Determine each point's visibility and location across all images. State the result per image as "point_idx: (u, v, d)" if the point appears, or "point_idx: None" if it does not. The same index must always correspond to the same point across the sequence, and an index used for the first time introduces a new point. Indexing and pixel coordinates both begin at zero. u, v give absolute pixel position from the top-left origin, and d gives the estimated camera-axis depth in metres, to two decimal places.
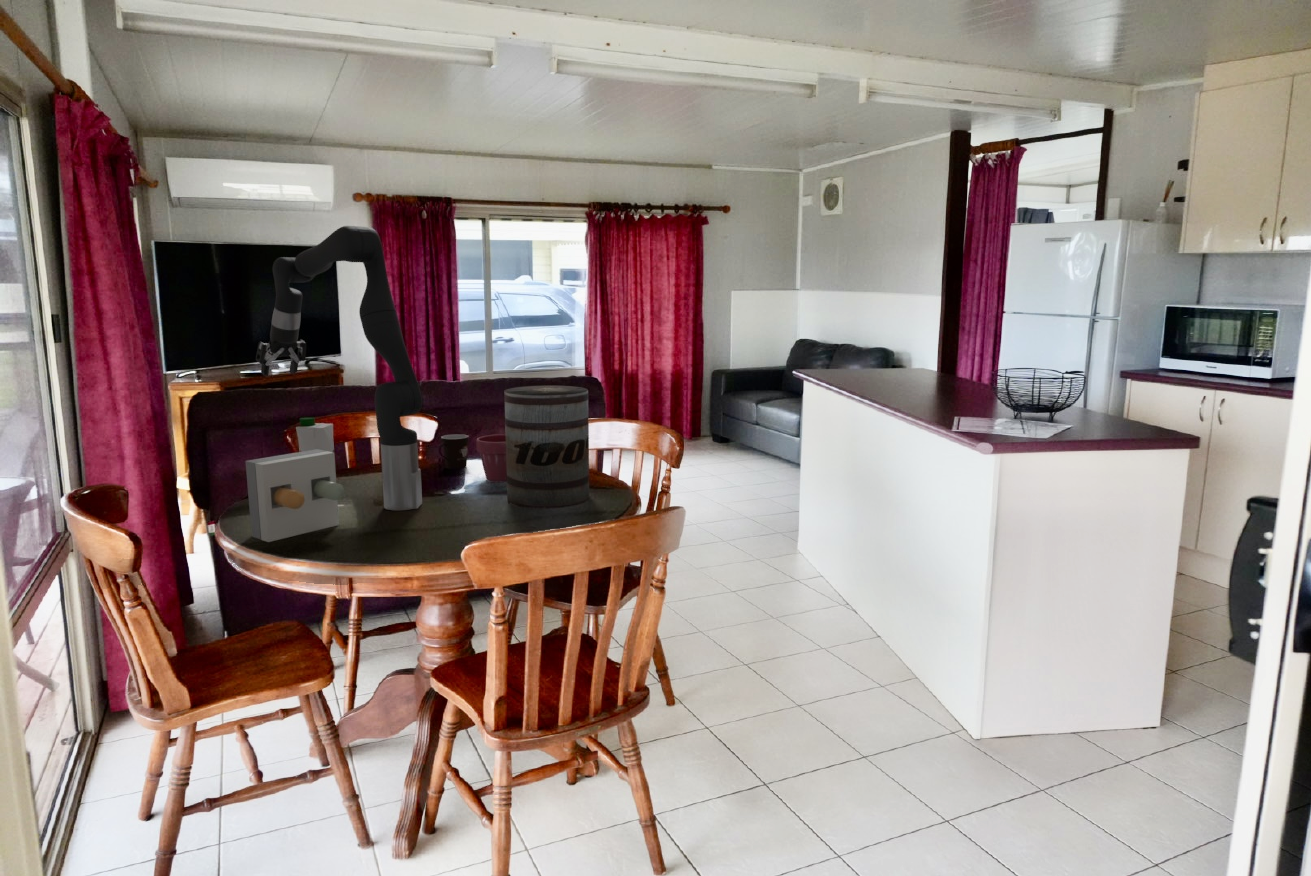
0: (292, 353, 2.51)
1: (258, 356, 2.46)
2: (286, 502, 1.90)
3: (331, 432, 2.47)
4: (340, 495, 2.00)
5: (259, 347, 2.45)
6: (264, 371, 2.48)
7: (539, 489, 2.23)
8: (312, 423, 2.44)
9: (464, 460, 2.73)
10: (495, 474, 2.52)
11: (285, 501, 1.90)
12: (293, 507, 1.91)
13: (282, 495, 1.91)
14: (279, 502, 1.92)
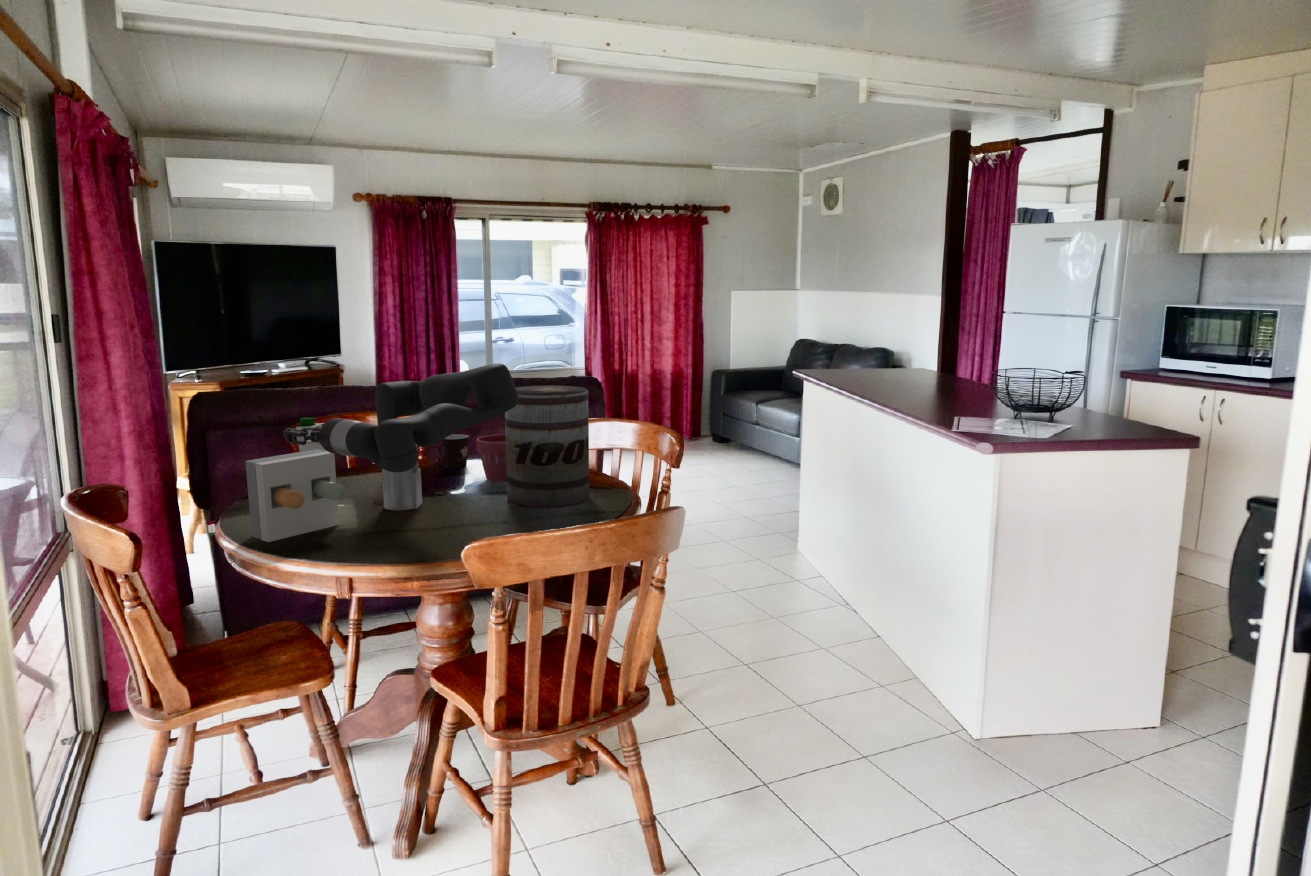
0: (313, 427, 1.79)
1: None
2: (286, 502, 1.90)
3: None
4: (340, 495, 2.00)
5: None
6: None
7: (539, 489, 2.23)
8: (312, 423, 2.44)
9: (464, 460, 2.73)
10: (495, 474, 2.52)
11: (285, 501, 1.90)
12: (293, 507, 1.91)
13: (282, 495, 1.91)
14: (279, 502, 1.92)
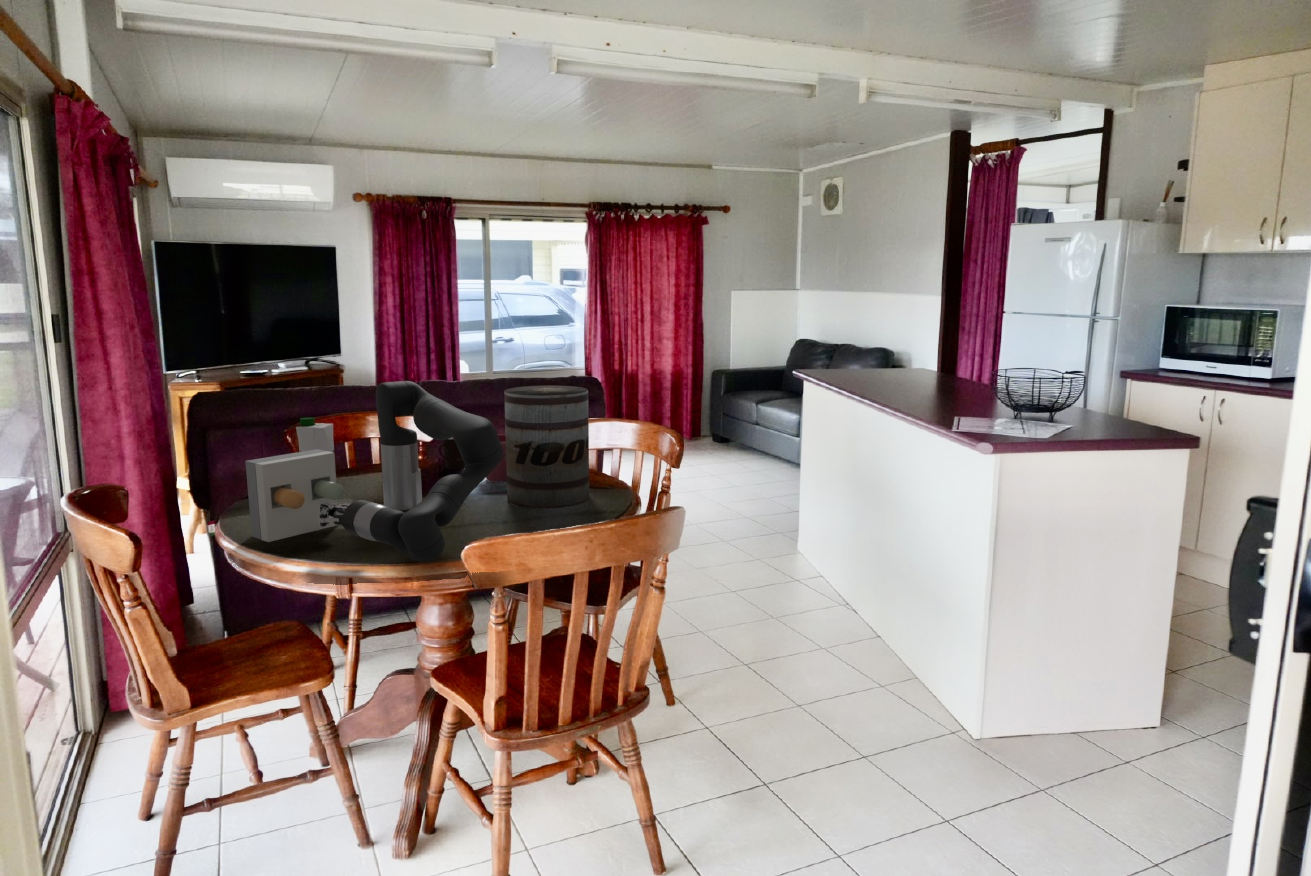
0: (340, 507, 1.79)
1: None
2: (286, 502, 1.90)
3: (331, 432, 2.47)
4: (340, 495, 2.00)
5: None
6: None
7: (539, 489, 2.23)
8: (312, 423, 2.44)
9: None
10: (495, 474, 2.52)
11: (285, 501, 1.90)
12: (293, 507, 1.91)
13: (282, 495, 1.91)
14: (279, 502, 1.92)
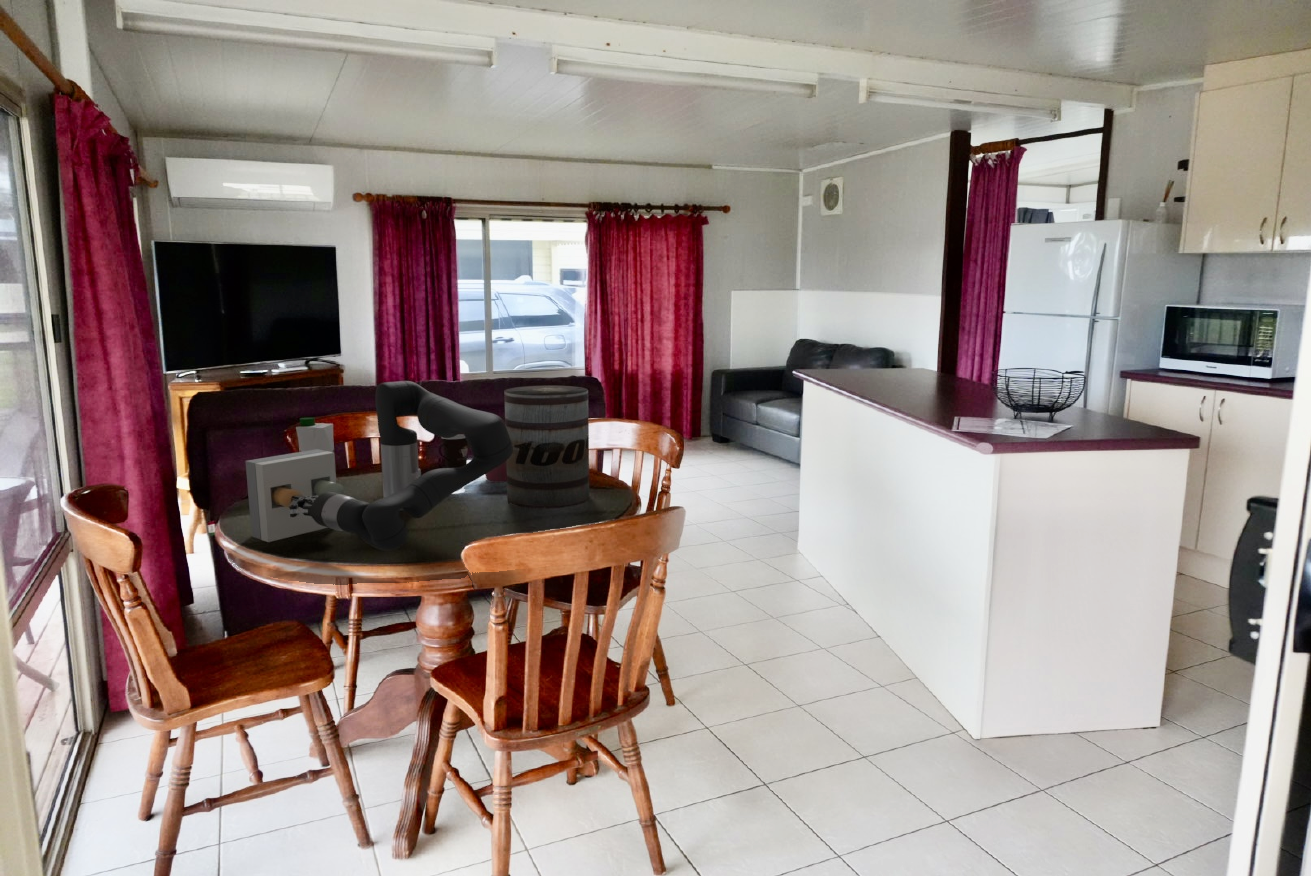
0: (310, 498, 1.86)
1: None
2: (284, 502, 1.91)
3: (331, 432, 2.47)
4: None
5: None
6: None
7: (539, 489, 2.23)
8: (312, 423, 2.44)
9: (464, 460, 2.73)
10: (495, 474, 2.52)
11: (283, 501, 1.91)
12: None
13: (280, 495, 1.92)
14: (277, 502, 1.93)
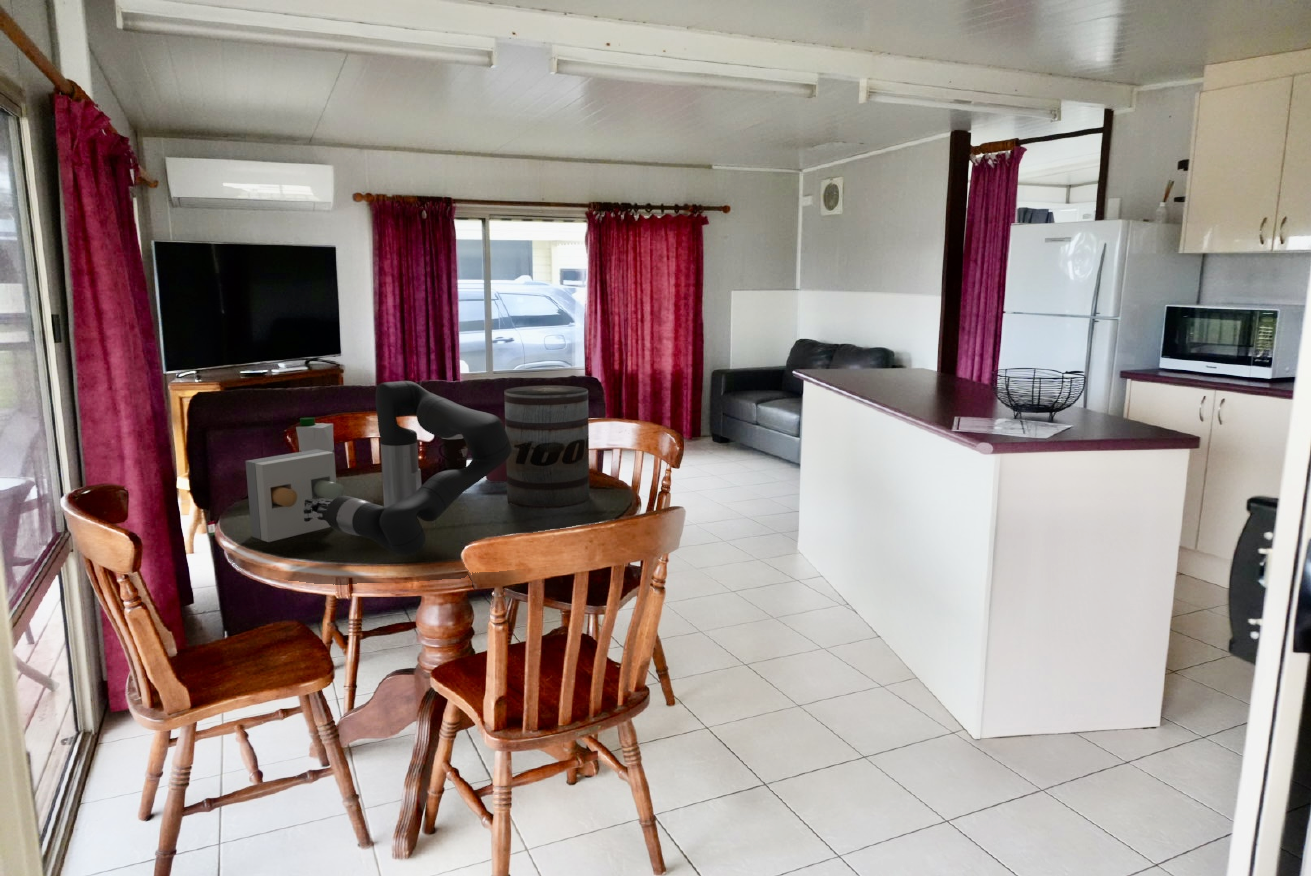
0: (324, 502, 1.83)
1: None
2: (278, 500, 1.92)
3: (331, 432, 2.47)
4: (340, 495, 2.00)
5: None
6: None
7: (539, 489, 2.23)
8: (312, 423, 2.44)
9: (464, 460, 2.73)
10: (495, 474, 2.52)
11: (278, 499, 1.92)
12: (286, 505, 1.93)
13: (275, 493, 1.93)
14: (272, 500, 1.94)
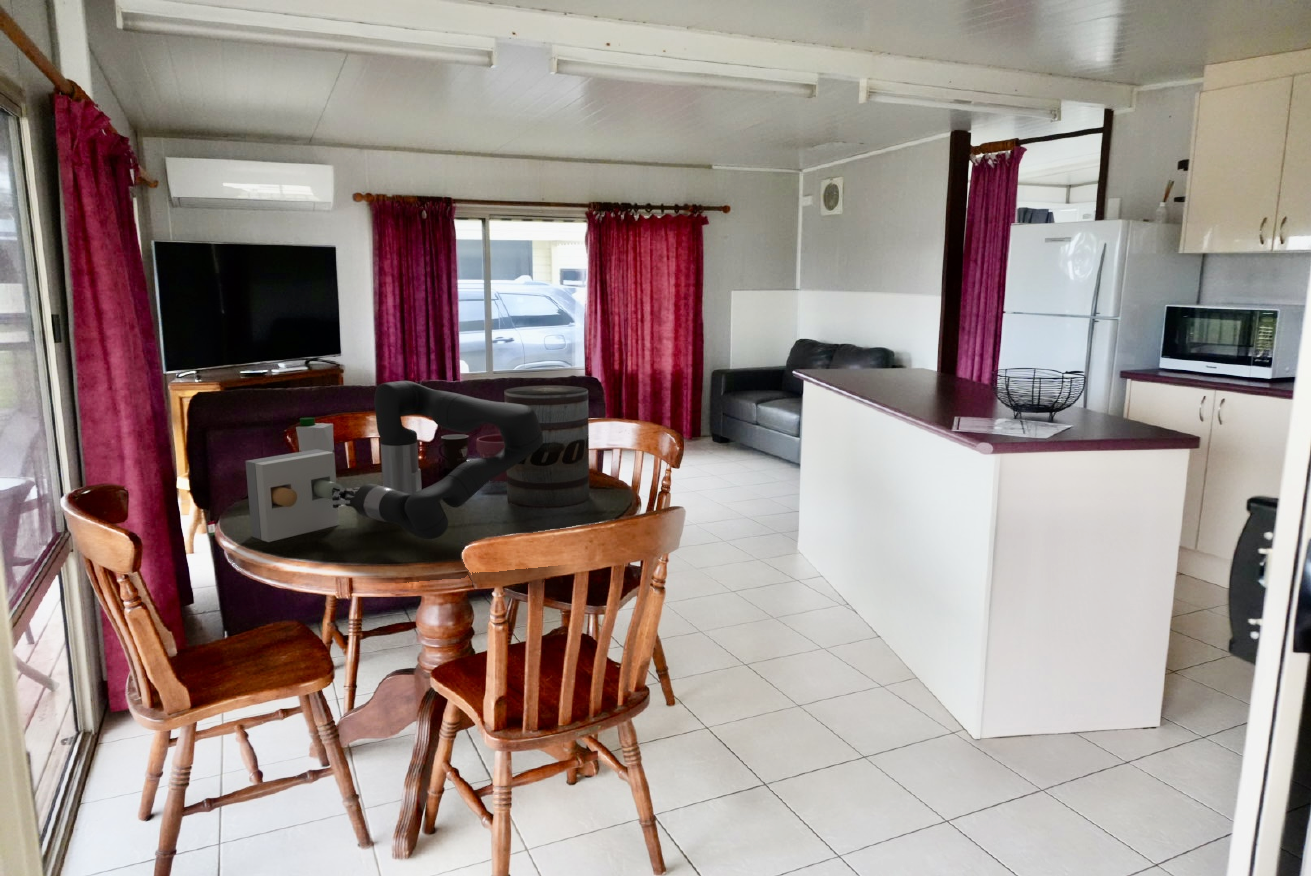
0: (351, 490, 1.93)
1: None
2: (278, 500, 1.92)
3: (331, 432, 2.47)
4: None
5: None
6: None
7: (539, 489, 2.23)
8: (312, 423, 2.44)
9: (464, 460, 2.73)
10: None
11: (278, 499, 1.92)
12: (286, 505, 1.93)
13: (275, 493, 1.93)
14: (272, 500, 1.94)
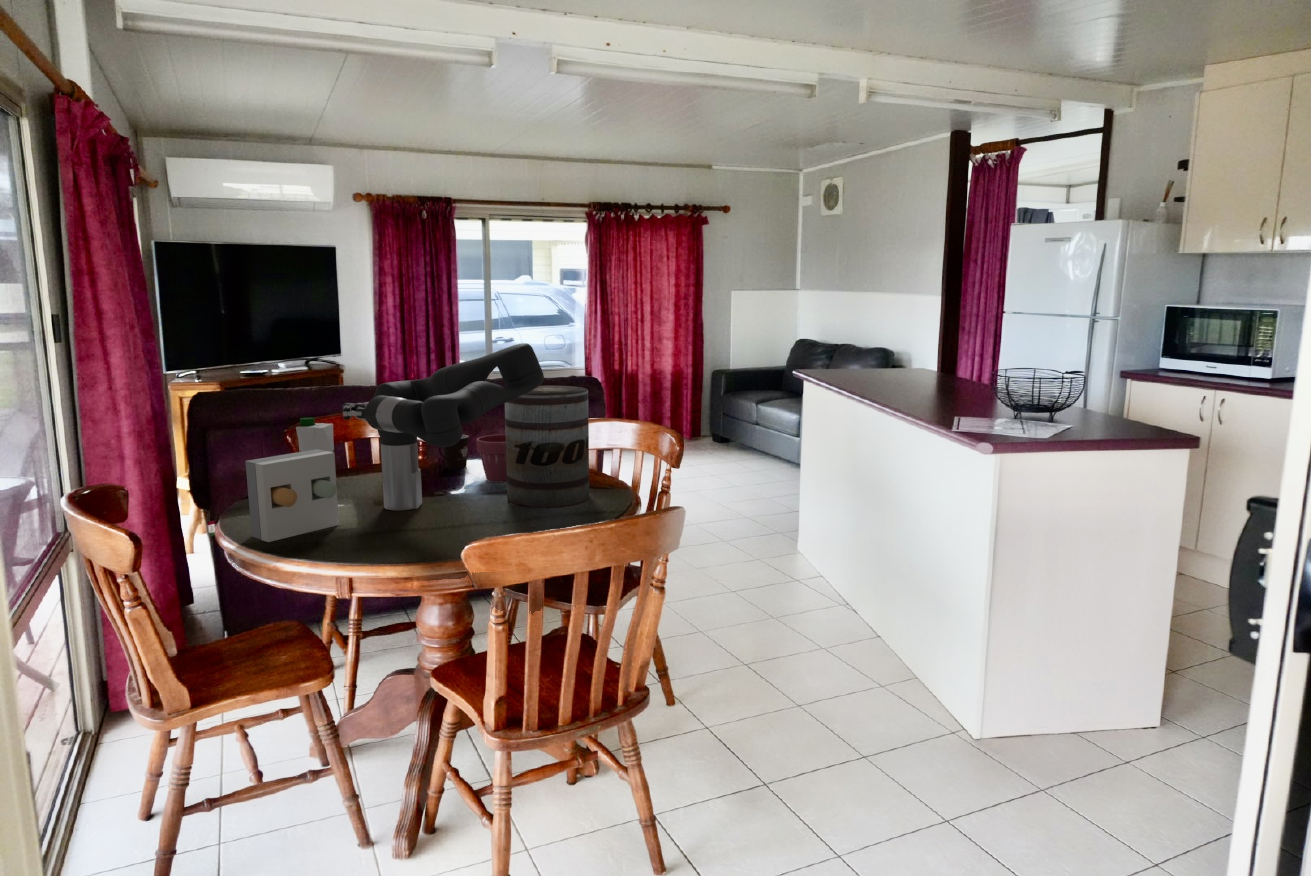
0: None
1: None
2: (278, 500, 1.92)
3: (331, 432, 2.47)
4: (333, 493, 2.02)
5: None
6: (354, 404, 1.92)
7: (539, 489, 2.23)
8: (312, 423, 2.44)
9: (464, 460, 2.73)
10: (495, 474, 2.52)
11: (278, 499, 1.92)
12: (286, 505, 1.93)
13: (275, 493, 1.93)
14: (272, 500, 1.94)
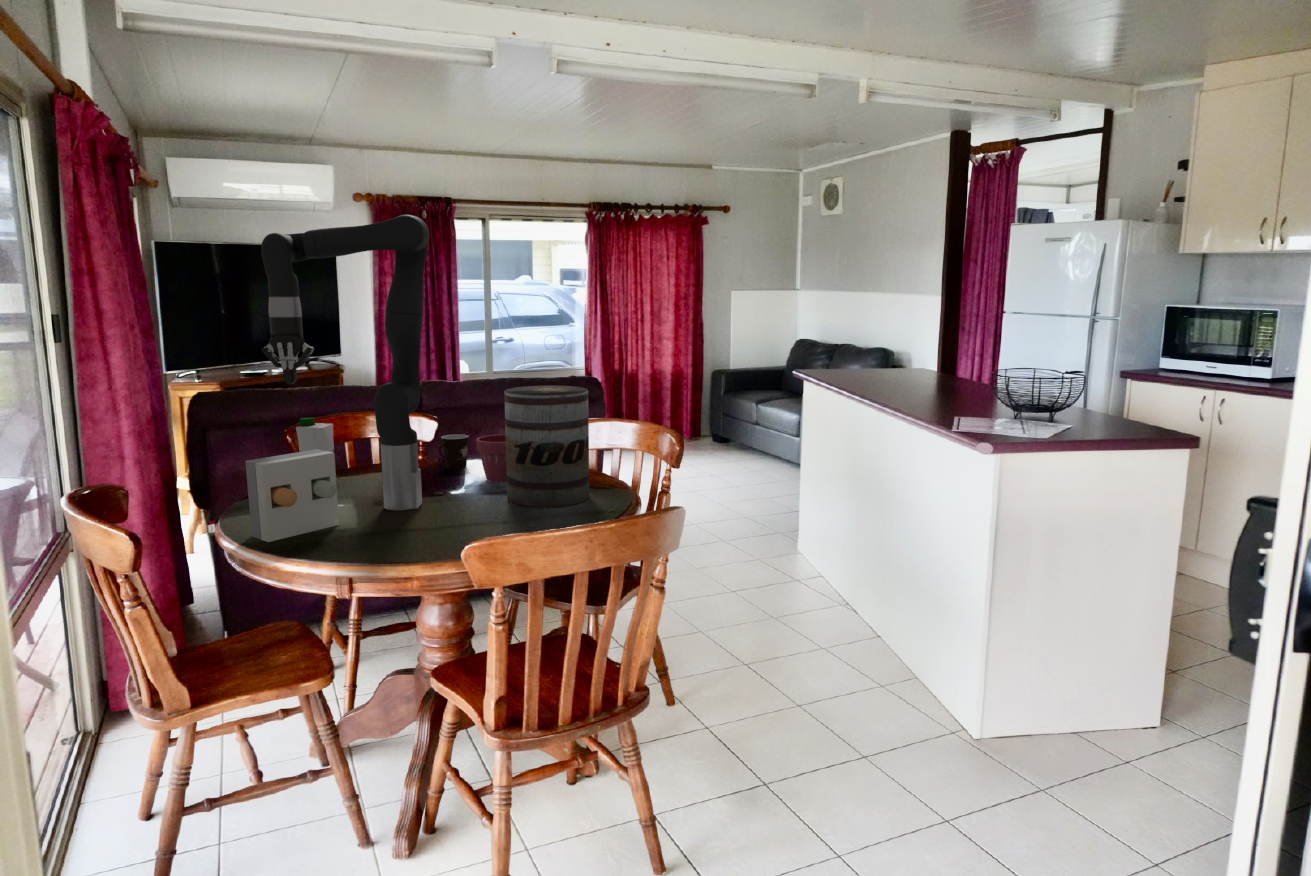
0: None
1: None
2: (278, 500, 1.92)
3: (331, 432, 2.47)
4: (333, 493, 2.02)
5: (309, 353, 2.15)
6: None
7: (539, 489, 2.23)
8: (312, 423, 2.44)
9: (464, 460, 2.73)
10: (495, 474, 2.52)
11: (278, 499, 1.92)
12: (286, 505, 1.93)
13: (275, 493, 1.93)
14: (272, 500, 1.94)
